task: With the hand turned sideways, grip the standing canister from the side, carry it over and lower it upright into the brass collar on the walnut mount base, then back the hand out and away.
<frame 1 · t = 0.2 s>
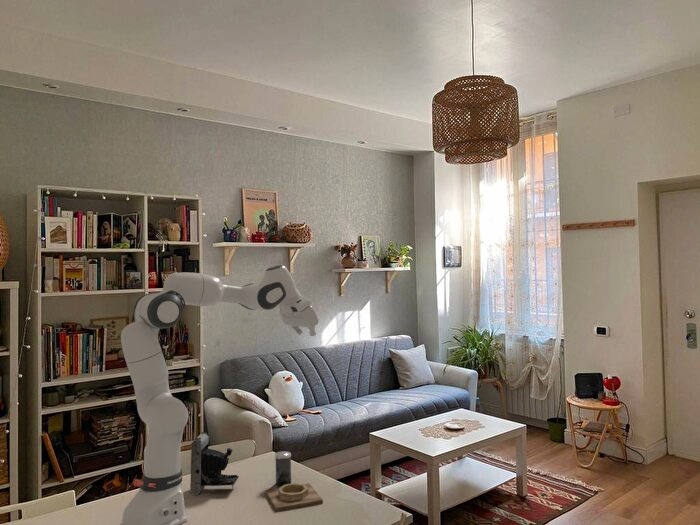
hand: (306, 334, 207), 54 cm above the table, fingers open, 8 cm apart
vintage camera: (215, 490, 193), on the table
mount: (293, 498, 184), on the table
canister: (283, 483, 197), on the table
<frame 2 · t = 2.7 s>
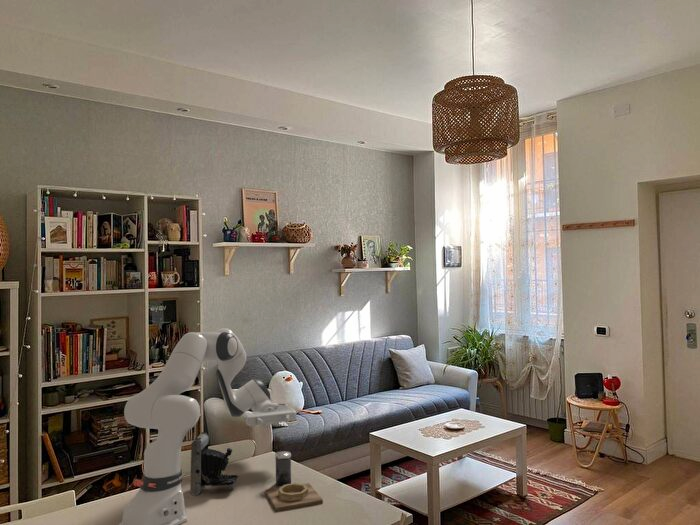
hand: (275, 421, 209), 20 cm above the table, fingers open, 8 cm apart
nothing on the table moved.
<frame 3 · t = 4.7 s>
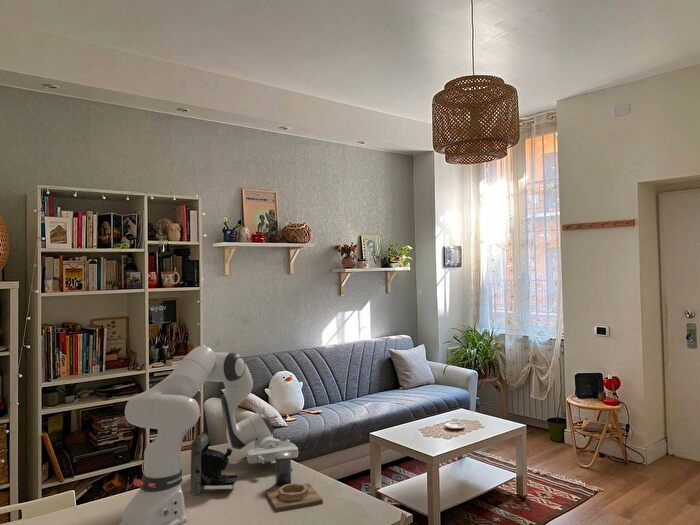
hand: (276, 460, 207), 6 cm above the table, fingers open, 8 cm apart
nothing on the table moved.
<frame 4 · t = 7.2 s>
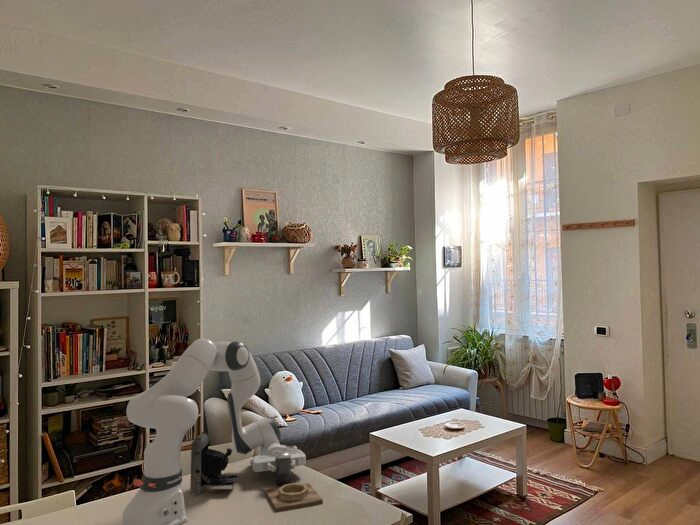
hand: (283, 468, 197), 6 cm above the table, fingers closed on canister, 6 cm apart
canister: (283, 483, 197), on the table, touching gripper
everything else where it was.
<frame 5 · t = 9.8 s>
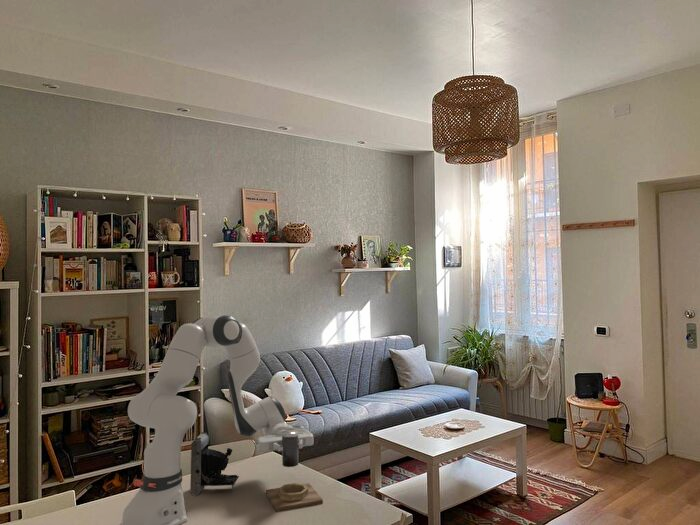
hand: (290, 447, 187), 17 cm above the table, fingers closed on canister, 6 cm apart
canister: (290, 464, 187), point 11 cm above the table, touching gripper
everything else where it was.
when the fingers open (8 cm above the table, at t = 12.6 s): canister drops 1 cm, resting on mount.
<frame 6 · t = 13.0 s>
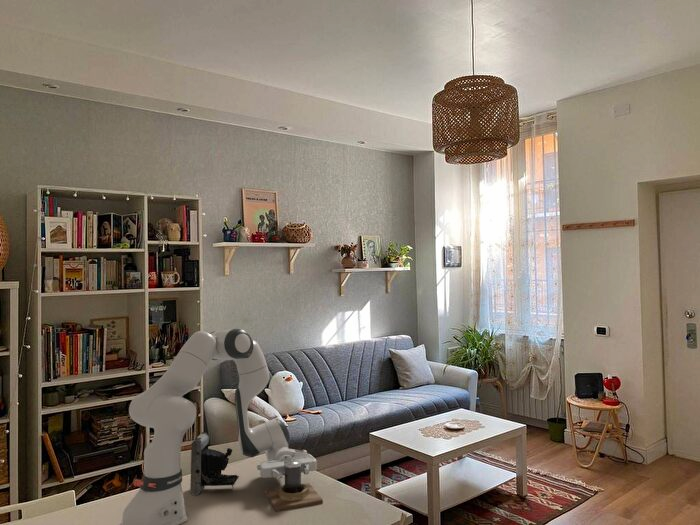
hand: (293, 474, 184), 8 cm above the table, fingers open, 8 cm apart
canister: (293, 494, 184), point 1 cm above the table, touching mount
everything else where it was.
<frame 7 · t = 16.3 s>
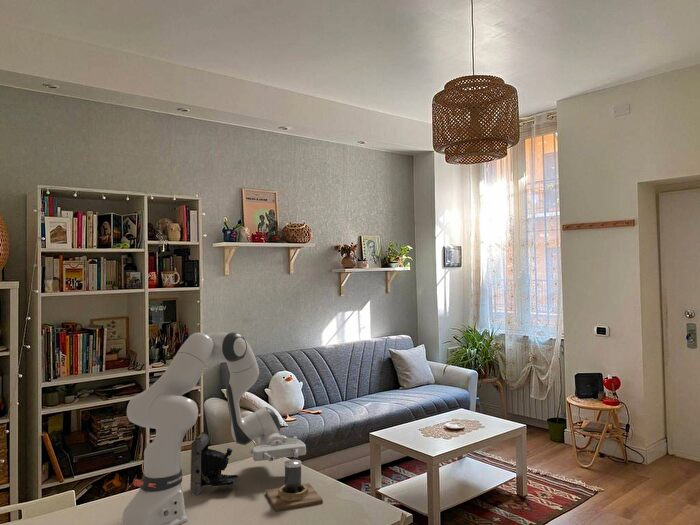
hand: (283, 457, 196), 10 cm above the table, fingers open, 8 cm apart
nothing on the table moved.
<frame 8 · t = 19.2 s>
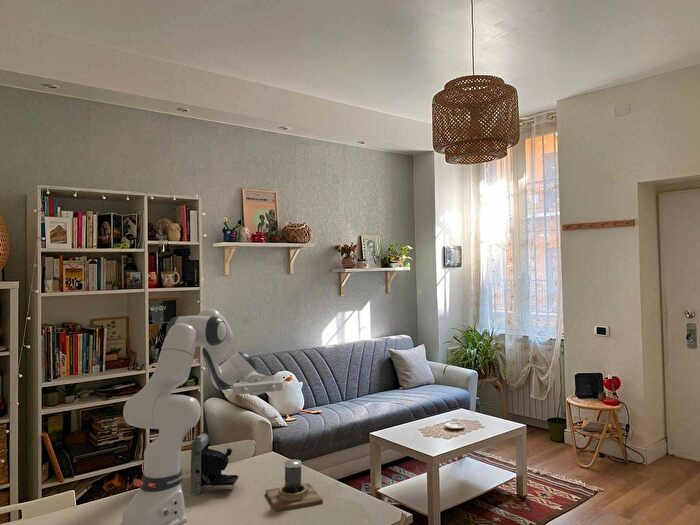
hand: (261, 390, 210), 32 cm above the table, fingers open, 8 cm apart
nothing on the table moved.
at the end: canister 0.1 cm off-centre on the mount, point 1.3 cm above the mount's base; canister tilted 1°; the gripper is holding nothing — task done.
